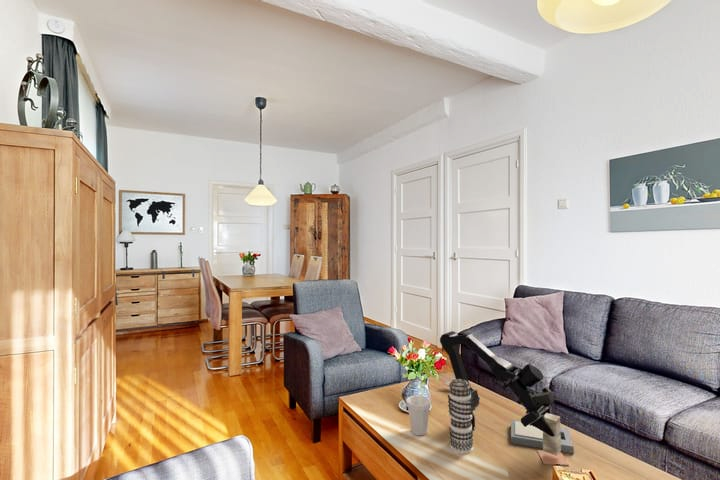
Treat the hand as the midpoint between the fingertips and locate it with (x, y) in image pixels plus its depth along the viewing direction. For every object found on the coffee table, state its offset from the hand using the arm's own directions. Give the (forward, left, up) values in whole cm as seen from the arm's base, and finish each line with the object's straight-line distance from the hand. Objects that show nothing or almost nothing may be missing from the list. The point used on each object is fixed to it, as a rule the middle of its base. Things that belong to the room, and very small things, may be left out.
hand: (555, 433), depth 131 cm
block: (-1, +1, -7) cm, 7 cm away
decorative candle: (-32, +4, -9) cm, 34 cm away
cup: (-48, +13, -9) cm, 51 cm away
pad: (-1, +1, -9) cm, 9 cm away
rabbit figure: (-30, +56, -10) cm, 64 cm away
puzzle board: (-1, +14, -9) cm, 17 cm away
